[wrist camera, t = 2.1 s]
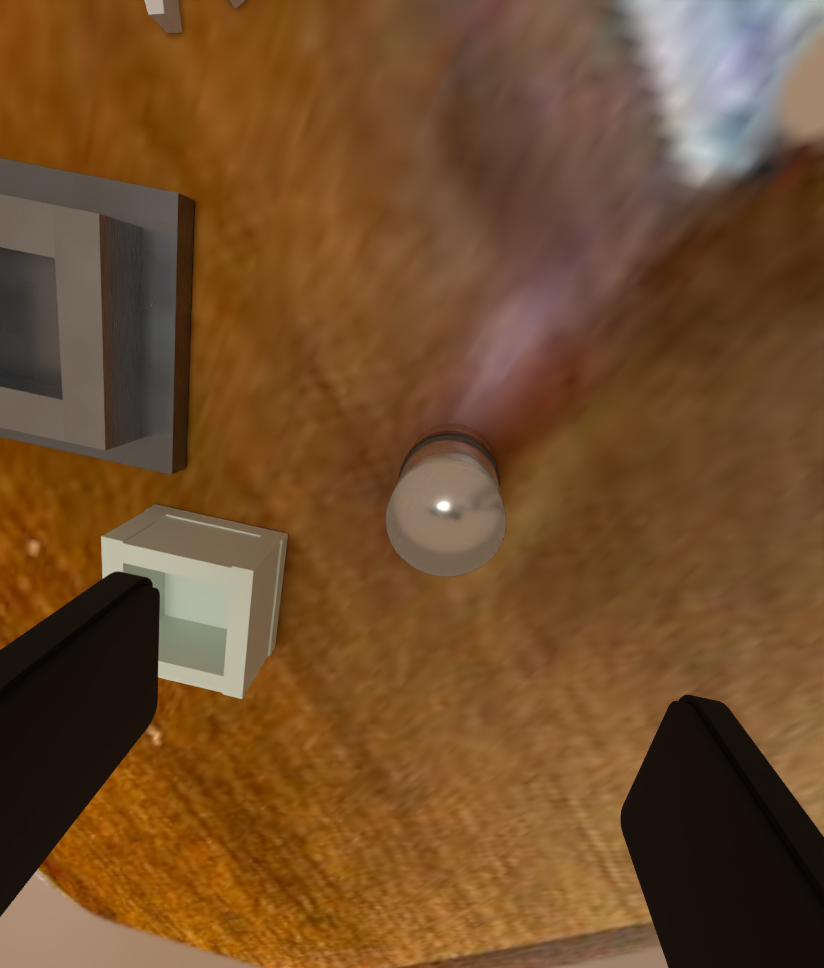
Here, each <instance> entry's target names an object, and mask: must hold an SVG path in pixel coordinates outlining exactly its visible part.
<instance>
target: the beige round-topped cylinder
mask: <svg viewBox="0 0 824 968" xmlns="http://www.w3.org/2000/svg"><path fill="white" fill-rule="evenodd" d="M386 528H387V533H388V536H389V539H390V541H391V543H392V546H393V547H394V549H395V550H396V552H397V553H398V554H399V555H400V557H401V558H402V559H404V560H405V561H406V562H407V563H408V564H410V565H411V566H412V567H414V568H416V569H418V570H420V571H422V572H425V573H428V574H431V575H436V576H446V577H450V576H459V575H463V574H467V573H470V572H472V571H474V570H476V569H478V568H480V567H481V566H483V565H484V564H486V563H487V562H488V561H489V560H490V559H491V558H492V557H493V556H494V555H495V553H496V552H497V551H498V549H499V547H500V545H501V543H502V541H503V538H504V534H505V529H506V515H505V510H504V506H503V501H502V497H501V493H500V477H499V472H498V468H497V464H496V462H495V459H494V457H493V455H492V453H491V450H490V448H489V446H488V444H487V443H486V441H485V440H484V439H483V438H482V437H481V436H480V435H479V434H478V433H477V432H475V431H474V430H472V429H470V428H468V427H466V426H462V425H457V424H444V425H440V426H436V427H434V428H432V429H430V430H428V431H426V432H425V433H424V434H423V435H421V436H420V437H419V439H418V440H417V441H416V442H415V444H414V446H413V447H412V449H411V450H410V451H409V453H408V454H407V456H406V458H405V460H404V462H403V465H402V467H401V470H400V474H399V480H398V482H397V485H396V487H395V489H394V492H393V494H392V496H391V499H390V501H389V503H388V507H387V512H386Z"/></svg>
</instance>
